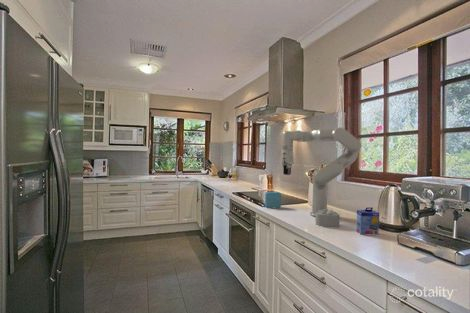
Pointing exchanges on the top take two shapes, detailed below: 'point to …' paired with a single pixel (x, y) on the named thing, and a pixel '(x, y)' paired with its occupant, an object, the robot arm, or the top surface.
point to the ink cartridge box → (367, 221)
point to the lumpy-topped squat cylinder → (327, 218)
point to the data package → (273, 199)
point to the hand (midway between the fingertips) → (287, 173)
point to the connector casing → (288, 170)
